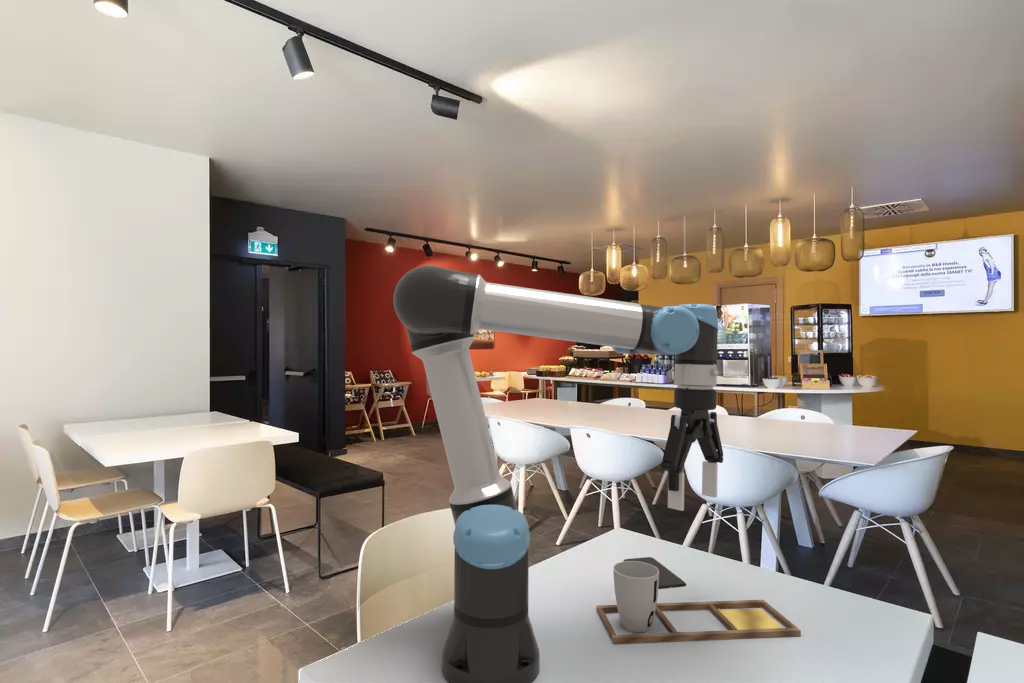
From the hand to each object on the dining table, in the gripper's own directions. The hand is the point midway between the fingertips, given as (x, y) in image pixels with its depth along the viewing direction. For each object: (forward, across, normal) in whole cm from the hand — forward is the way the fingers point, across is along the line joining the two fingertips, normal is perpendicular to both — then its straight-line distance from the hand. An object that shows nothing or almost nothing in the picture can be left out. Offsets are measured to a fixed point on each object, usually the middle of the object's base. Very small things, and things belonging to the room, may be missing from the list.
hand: (693, 502), depth 101 cm
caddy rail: (+21, -1, -1) cm, 21 cm away
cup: (+22, -9, +6) cm, 24 cm away
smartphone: (+22, +14, +16) cm, 31 cm away
